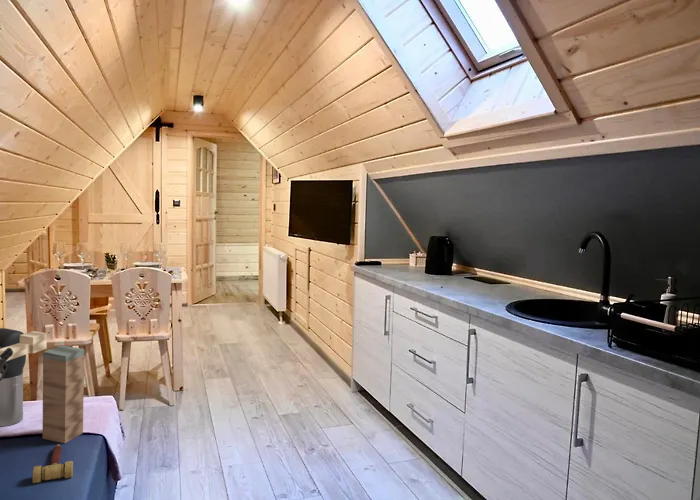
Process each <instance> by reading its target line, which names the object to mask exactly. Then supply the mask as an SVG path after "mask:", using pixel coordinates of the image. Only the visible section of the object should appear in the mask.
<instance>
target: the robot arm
mask: <svg viewBox="0 0 700 500" xmlns="http://www.w3.org/2000/svg"><path fill="white" fill-rule="evenodd" d="M22 334H25V333H24V332H23V331H21V330H18V329H17V330H16V329H10V328H6V327H5V328H4V327H0V349H2V348H5V347H8V346H11V345H14V344H17V343H20V335H22ZM12 355H13V351H12V349H11V348H7V349H6V350H5V351H4V352H3V353H2V354H1V355H0V427H7V426H12V425H15V424H17V423H18V424H19V422H21V421H22V420H23V418H24V367H25V365H26V362H27V361H26V360H27V354H26V355H23V356H20V357H17V358H14V359H11V360H8V359H9V357H11V356H12ZM7 360H8V361H7Z"/></svg>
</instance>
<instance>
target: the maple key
mask: <svg viewBox="0 0 700 500" xmlns="http://www.w3.org/2000/svg"><path fill="white" fill-rule="evenodd" d="M47 336H48V334H47V333H46V332H40V331H36V330H33V331H29V332H26V333H24V334H22V335H20V343H17V344H14V345H11V346H8V347H5V348H2V349H0V355H1V354H2V353H3V352H4V351H5V350H6V349H7V348H11V349H12V351H13V355H12V356H11V357H9V359H8V360H11V359H14V358H17V357H20V356H23V355H26V356H27V355H28V354H36V353H38V352H42V351H44V350H45V351H46V350H48V348H47V347H48V346H47V343H48V341H47ZM8 360H7V361H8Z"/></svg>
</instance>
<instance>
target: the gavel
mask: <svg viewBox="0 0 700 500" xmlns="http://www.w3.org/2000/svg"><path fill="white" fill-rule="evenodd" d="M52 448H53V449H52V452H51V458H50V463H49V465H45V466H42V465H35V466H33V469H32V483H33V484H39V483H41V482H42V481H50V480H51V479H52V480H57V478H58V479H61V478H64V479H69V478H70V477H71V478H73V477H74V475H73V474H74V473H73V472H74V461H73V460H69V461H65V463H61V457H62V451H63V448H62V446H61V445H60V444H57V445H55V446H54V447H52Z"/></svg>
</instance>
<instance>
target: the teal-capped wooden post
mask: <svg viewBox="0 0 700 500" xmlns="http://www.w3.org/2000/svg"><path fill="white" fill-rule="evenodd" d="M84 375H85V349H84V348H78V347H75V346H74V347H73V346H68V345H59V346H57V347H53V348H51V349H47V350H45V351H43V352H42V440H43V439H44V440H48V441H52V442H55V443H61V444H66V443H68V442H70V441H72V440H73V439H75V438H77V437H79V436H80V435H82V434H83V433H84V395H85V394H84V391H85V390H84V389H85V387H84V386H85V384H84V383H85V376H84Z"/></svg>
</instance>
